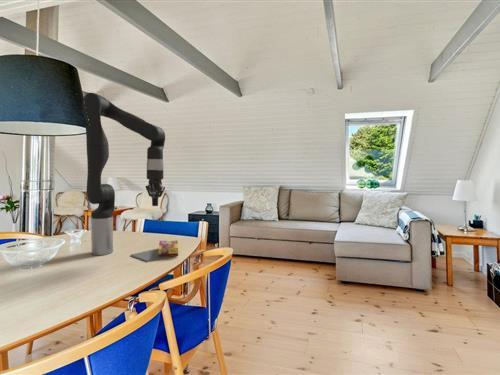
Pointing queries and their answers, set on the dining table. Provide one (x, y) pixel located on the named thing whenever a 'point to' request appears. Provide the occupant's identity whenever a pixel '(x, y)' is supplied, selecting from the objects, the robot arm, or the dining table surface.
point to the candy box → (168, 248)
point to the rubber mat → (148, 255)
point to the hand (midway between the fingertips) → (155, 205)
